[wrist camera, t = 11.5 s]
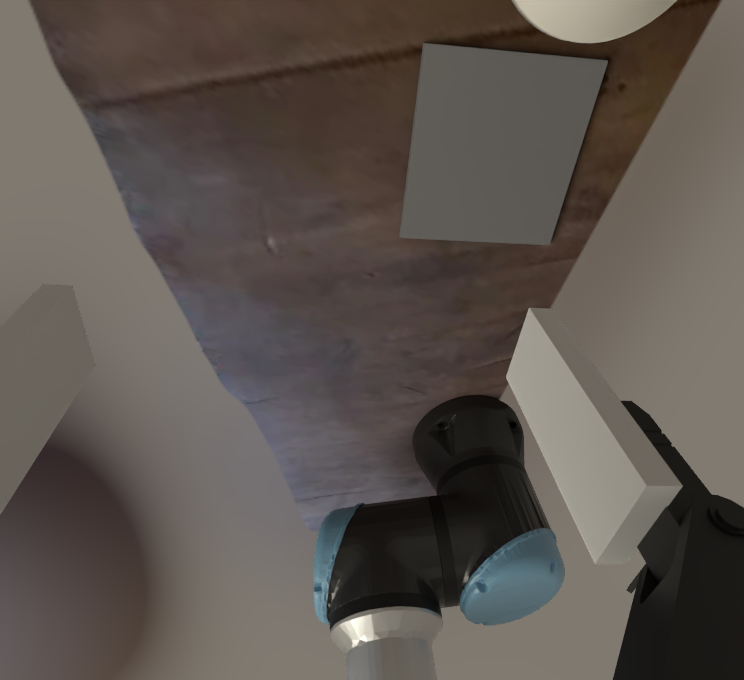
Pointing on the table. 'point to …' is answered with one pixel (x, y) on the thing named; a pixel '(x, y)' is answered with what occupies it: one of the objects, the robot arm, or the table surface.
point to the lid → (590, 17)
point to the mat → (495, 142)
